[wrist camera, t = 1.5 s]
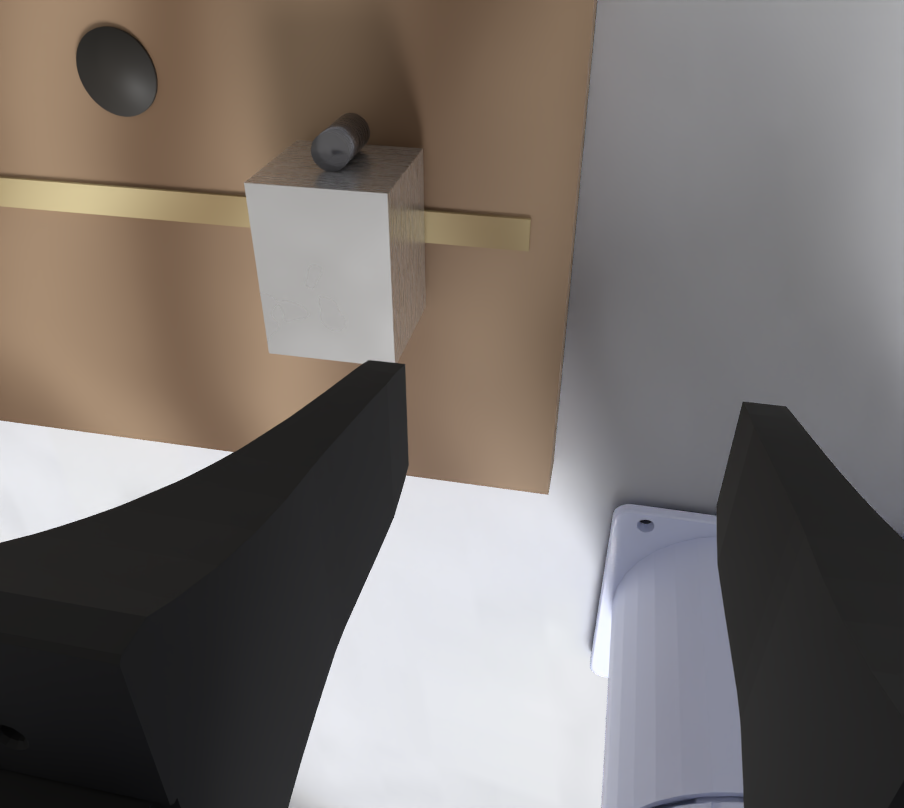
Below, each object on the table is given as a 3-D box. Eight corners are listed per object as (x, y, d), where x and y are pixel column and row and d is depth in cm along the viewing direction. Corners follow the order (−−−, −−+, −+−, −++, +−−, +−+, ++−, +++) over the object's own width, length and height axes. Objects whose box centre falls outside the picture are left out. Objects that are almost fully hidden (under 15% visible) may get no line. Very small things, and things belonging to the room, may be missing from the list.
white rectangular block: (422, 111, 18) (385, 153, 15) (425, 306, 20) (395, 367, 18) (293, 104, 18) (238, 142, 16) (313, 295, 21) (269, 353, 18)
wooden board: (603, -60, 17) (587, -34, 13) (553, 463, 25) (534, 579, 21) (-202, -76, 20) (-412, -60, 16) (-19, 389, 28) (-129, 477, 24)
